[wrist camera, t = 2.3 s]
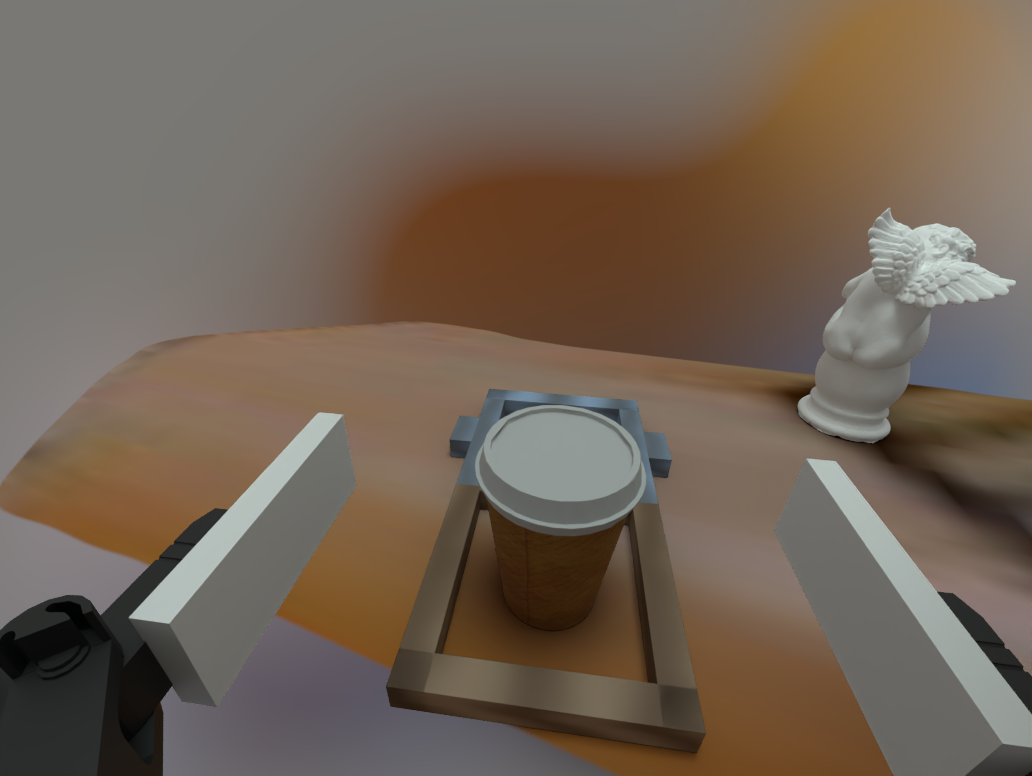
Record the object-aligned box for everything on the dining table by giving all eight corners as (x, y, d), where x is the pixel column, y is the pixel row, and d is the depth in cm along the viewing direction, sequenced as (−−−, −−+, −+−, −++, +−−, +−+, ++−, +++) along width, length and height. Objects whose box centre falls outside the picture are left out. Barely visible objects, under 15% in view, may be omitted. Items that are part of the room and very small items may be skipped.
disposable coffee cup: (555, 514, 37) (567, 386, 31) (649, 601, 30) (687, 459, 24) (452, 573, 32) (442, 433, 26) (538, 692, 25) (551, 541, 19)
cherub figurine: (849, 397, 55) (941, 201, 44) (953, 461, 44) (1109, 226, 33) (761, 404, 52) (835, 199, 41) (849, 474, 42) (980, 225, 31)
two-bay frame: (652, 417, 49) (655, 402, 48) (738, 758, 23) (749, 739, 22) (471, 402, 51) (471, 387, 50) (355, 701, 25) (348, 681, 24)
